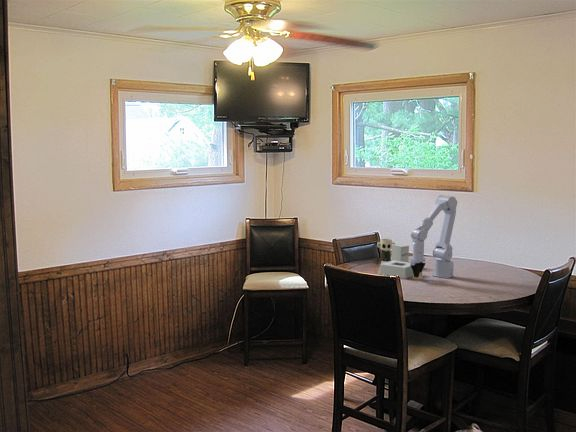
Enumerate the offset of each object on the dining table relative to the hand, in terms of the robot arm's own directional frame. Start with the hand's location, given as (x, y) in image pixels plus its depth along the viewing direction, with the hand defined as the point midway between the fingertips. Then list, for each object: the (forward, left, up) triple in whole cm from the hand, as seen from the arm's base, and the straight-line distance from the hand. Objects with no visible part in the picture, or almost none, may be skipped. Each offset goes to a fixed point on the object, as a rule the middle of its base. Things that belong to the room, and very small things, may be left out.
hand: (417, 276), depth 332 cm
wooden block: (0, 0, -2) cm, 2 cm away
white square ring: (+13, -4, -1) cm, 14 cm away
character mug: (+38, -37, -2) cm, 53 cm away
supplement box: (+23, -26, -2) cm, 35 cm away
